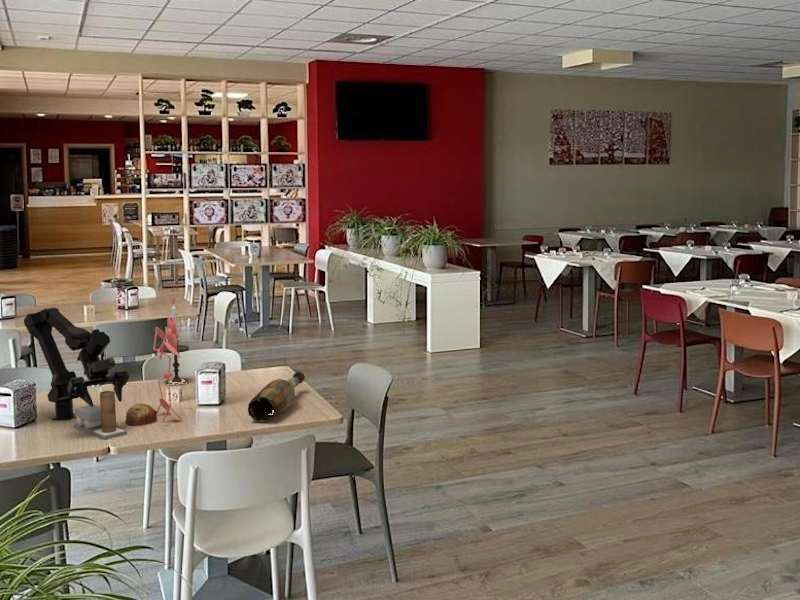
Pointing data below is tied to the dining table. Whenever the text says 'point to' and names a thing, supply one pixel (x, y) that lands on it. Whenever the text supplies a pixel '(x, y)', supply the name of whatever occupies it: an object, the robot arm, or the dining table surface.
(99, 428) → the grey stand
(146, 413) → the bread roll
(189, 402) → the dining table surface
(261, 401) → the decorative bottle
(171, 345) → the figurine
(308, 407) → the dining table surface
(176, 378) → the candlestick
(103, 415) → the walnut roller
